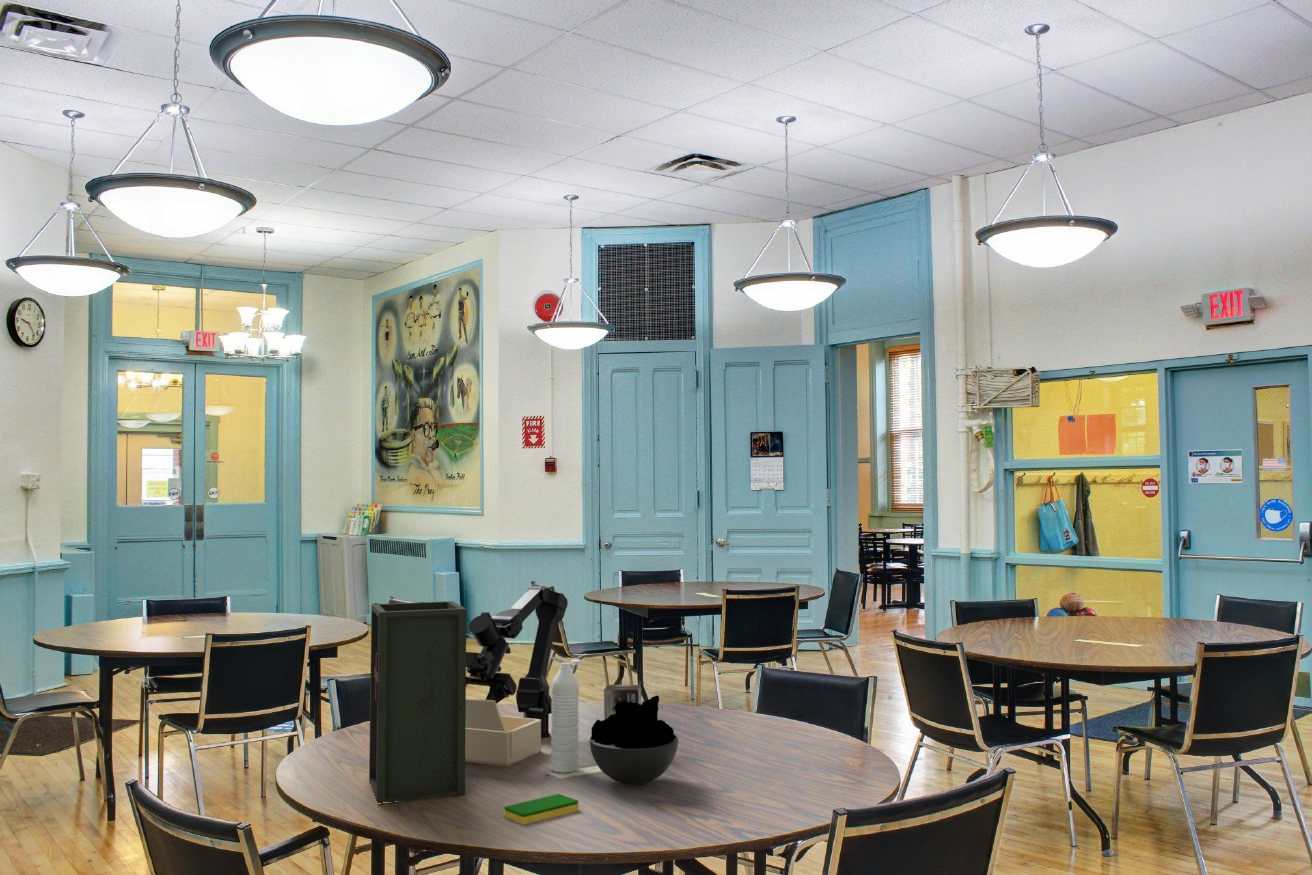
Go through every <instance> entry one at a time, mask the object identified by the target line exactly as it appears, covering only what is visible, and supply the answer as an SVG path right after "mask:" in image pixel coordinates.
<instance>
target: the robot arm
mask: <svg viewBox="0 0 1312 875" xmlns="http://www.w3.org/2000/svg"><path fill="white" fill-rule="evenodd" d="M568 604H569V603H568V598H567V597H566V596H565V594H564V593H561V592H557V591H554V590H551V589H549V588H548V587H545V586H537V585H536V586H535V585H533V586H529V587H528V588H527V591H526V592H525V593H524V594H523V595H522V596H521V597H520V598H519V599H518V600H517V601H516V602H515V603H514V604H513V605H512V606H511V607H510V608H508V609H507V610H502V611H500V612H498V613H496V614H495V615H493V616H491V614H490V612H487V611H481V613H480V615H477V616H476V617H474V618H472V620H471V621H469V623H468V626H467V627H468V630H469V633H471V636H472V637H473V639H475V641H476V643H477V645H479V646H480V647H482V648H481V650H480V652H476V651H475V652H474V651H473V652H472V651H466V673H467V674H469V675H466V687H467V686H468V685H469V686H470V685H471V686H472V685H473V686H480V687H489V691H488V693H487V695H486V698H485V699H484V700H494V701H495V702H496V705H497V704H498V703H500V702H501V701H502V700H504V699H506V698H509V697H510V696H514V695H515V701H516V702H515V703H516V706H517V711H518V713H523V716H522V718H531V719H541V738H544V737H546V738H547V737H551V733H550V731H549V730H550V729H549V727H550V726H549V724H550V720H549V718H550V717H549V716H550V715H552V696H551V695H550V684H549V682H548V679H547V673H548V669H549V664H550V658H551V652H552V648H553V643H554V638H555V632H556V628H557V626H558V625H559V623H560V622H562V620H563V618H564V617H565V614H566V611H567V608H568V606H569V605H568ZM534 611H535V615H536V619H537V620H538V624H537V629H536V634H535V639H534V642H533V643H534V644H533V648H532V653H531V658H530V662H529V667H528V673H526V675H525V676H524V677H520V678H519V680H518V684H517V683H516V682H515V680H514V678H513V677H512V675H511V674H510V673H508V672H506V673H505V672H501V670H502V666H501V663H502V661H503V658H504V657H505V654H511V653H512V651H511V647H510V644H509V642H507V640H506V639H513V640H514V639H516V638H517V637H518V636H519V634H520V633H521V631H522V630H523V627H524V626H523V623H524V621H525V620H526V619H527V618H528V617H529V616H531V615H532V613H533V612H534Z"/></svg>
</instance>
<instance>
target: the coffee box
mask: <svg viewBox="0 0 1312 875" xmlns="http://www.w3.org/2000/svg"><path fill="white" fill-rule="evenodd" d="M623 700H624V701H626V702H629V701H631V702H635V703H638V704H641V705H642V685H641V684H607V685H606V686H605V688H604V689H603V710H604V711H603V714H604V716H603V717H604V718H603V719H604V720H605V719H606V718H608V717H609V715H613V714H616V711H615V705H616V703H617V702H618V701H619V702H622V701H623Z"/></svg>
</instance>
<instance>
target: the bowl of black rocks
mask: <svg viewBox="0 0 1312 875" xmlns="http://www.w3.org/2000/svg"><path fill="white" fill-rule="evenodd" d="M659 702H660V696H659V694H657V695H654V696H652V697H650V698H649V699H648V700H644V701H641V704H638V703H635V702H631V701H629V702H626V701H624V700H623V701H622V702H619V701H618V702H617V703H616V705H615V711H616V714H613V715H609V717H608V718H606V719H605V720H600V719H596V721H595V722H594V723H593V724H592V726H591V733H590V734H591V736H590V738H589V747H590V753H591V756H592V758H593V761H594V762H595V764H596V765H597V766H598V768H599V769H600V770H601V772H602V773H603V774H604V775H606V777H608V778H609V779H611V780H613V781H615V782H617V783H620V784H622V785H628V786H641V785H645V784H647V783H651V782H653V781H655V780H656V779H657V778H659V777H661V776H662V775H663V774H664V773H665V772H666V771H667V770H668V769H669V768H670V766H671V765H672V763H673V761H674V759H675V757H676V755H677V750H678V746H679V737H678V736H677V734H674V733H675V731H674V728H673V727H672V726H670V724H668V723H666V721H664V720H663V719H658V713H659Z"/></svg>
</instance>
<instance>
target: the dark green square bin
mask: <svg viewBox="0 0 1312 875" xmlns="http://www.w3.org/2000/svg"><path fill="white" fill-rule="evenodd" d="M370 607H371V610H370V611H371V615H370V616H371V617H370V618H371V619H370V620H371V622H370V623H371V625H370V626H371V627H370V628H371V631H370V687H369V688H370V696H369V701H370V702H369V706H370V707H369V756H368V757H369V758H368V760H369V761H368V762H369V768H368V770H369V773H368V782H370V783H369V785H370V784H371V786H370V788H371V787H372V789H371V791H372V790H373V792H372V794H373V793H374V795H373V797H374V796H375V798H374V800H375V799H376V801H377V803H383V802H395V801H406V802H414V801H421V800H422V799H425V800H432V799H433V800H434V799H442V798H443V797H444V798H452V797H462V796H466V762H465V721H466V698H467V697H466V695H467V694H466V693H467V692H466V691H467V686H466V676H467V671H466V669H467V667H466V652H467V608H466V607H464V606H462V605H460V604H458V603H456V602H455V601H453V600H451V601H449V600H448V601H447V600H446V601H421V602H419V601H418V602H397V603H396V602H395V603H392V602H391V603H372V604H371V606H370ZM376 801H375V802H376ZM377 803H376V804H377Z"/></svg>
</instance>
